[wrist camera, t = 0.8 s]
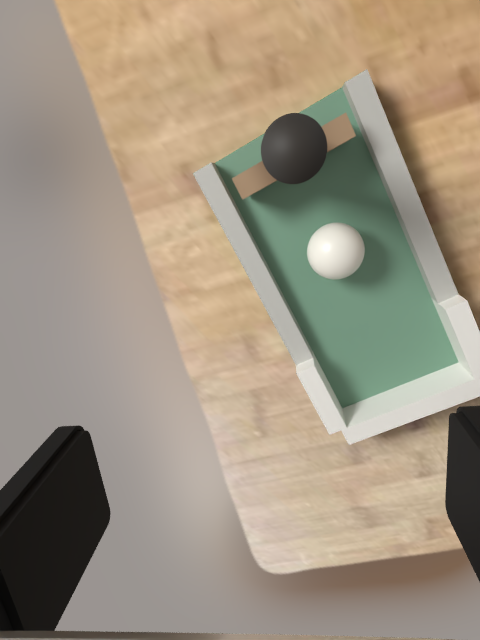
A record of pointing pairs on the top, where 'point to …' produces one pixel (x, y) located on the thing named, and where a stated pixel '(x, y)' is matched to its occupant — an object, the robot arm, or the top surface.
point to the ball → (335, 250)
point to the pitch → (354, 276)
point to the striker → (293, 151)
